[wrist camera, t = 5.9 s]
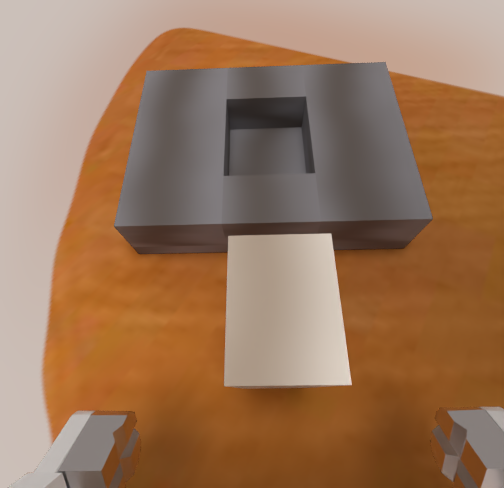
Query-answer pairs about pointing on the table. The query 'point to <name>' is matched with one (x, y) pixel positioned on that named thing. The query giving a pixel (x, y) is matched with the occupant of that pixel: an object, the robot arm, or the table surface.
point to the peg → (284, 313)
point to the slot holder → (270, 159)
